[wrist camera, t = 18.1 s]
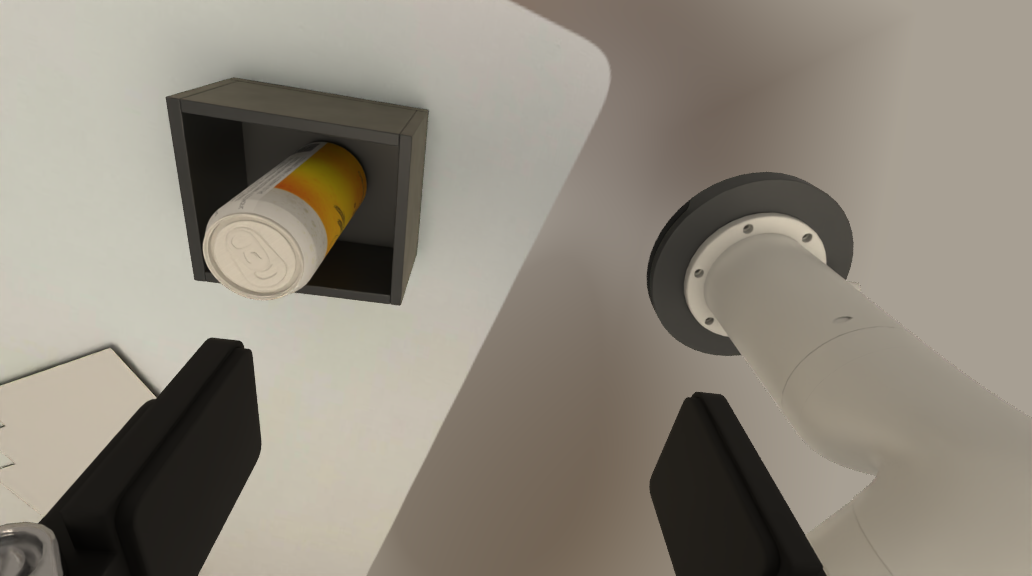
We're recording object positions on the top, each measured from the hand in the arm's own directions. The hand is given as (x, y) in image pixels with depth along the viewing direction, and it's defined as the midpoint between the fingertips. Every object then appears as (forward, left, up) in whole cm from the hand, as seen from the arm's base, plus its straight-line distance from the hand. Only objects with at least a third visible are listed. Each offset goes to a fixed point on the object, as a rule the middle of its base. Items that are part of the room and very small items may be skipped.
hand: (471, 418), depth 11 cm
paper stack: (+38, +43, -33) cm, 66 cm away
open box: (+12, +7, -33) cm, 36 cm away
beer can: (+12, +7, -32) cm, 35 cm away
